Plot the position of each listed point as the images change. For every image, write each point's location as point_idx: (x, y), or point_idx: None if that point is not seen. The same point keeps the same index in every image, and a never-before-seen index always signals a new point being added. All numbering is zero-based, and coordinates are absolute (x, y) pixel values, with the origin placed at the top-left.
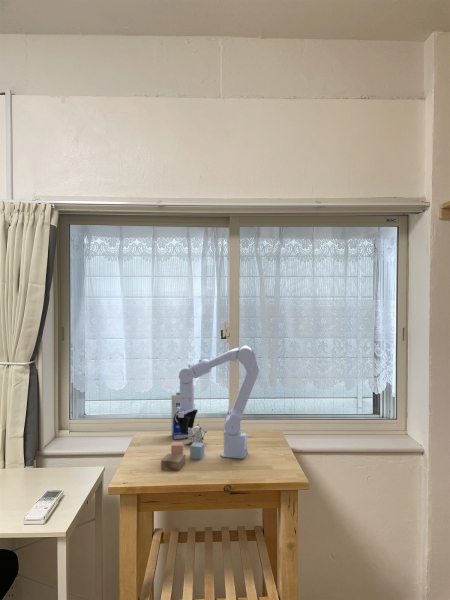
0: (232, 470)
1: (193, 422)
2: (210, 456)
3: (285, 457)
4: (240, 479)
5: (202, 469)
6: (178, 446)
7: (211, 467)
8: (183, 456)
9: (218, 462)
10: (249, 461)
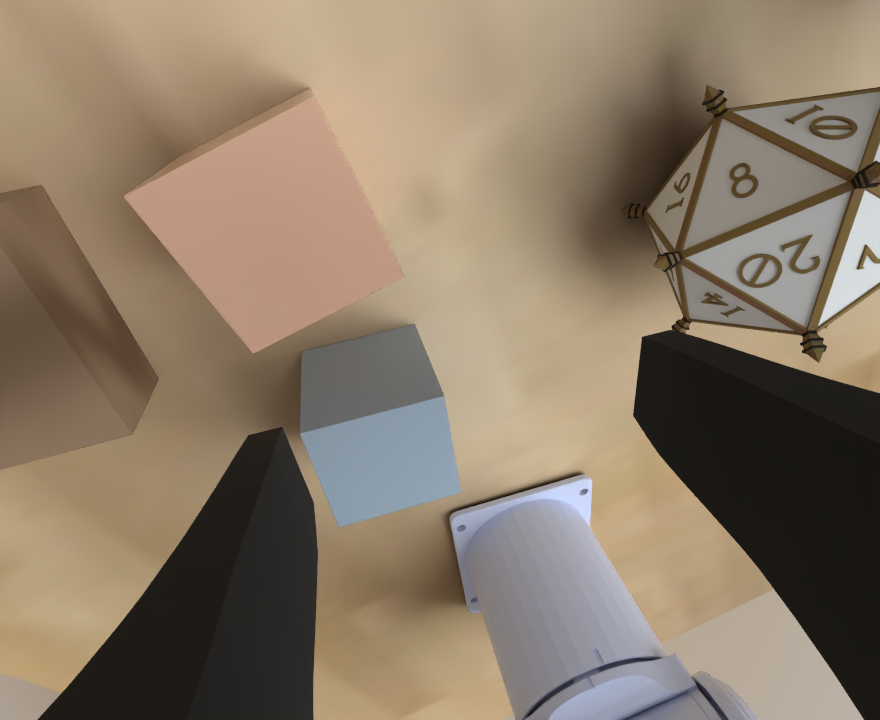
0: None
1: (710, 505)
2: None
3: None
4: None
5: (157, 541)
6: (213, 297)
7: None
8: (81, 443)
9: (348, 546)
10: (449, 633)
